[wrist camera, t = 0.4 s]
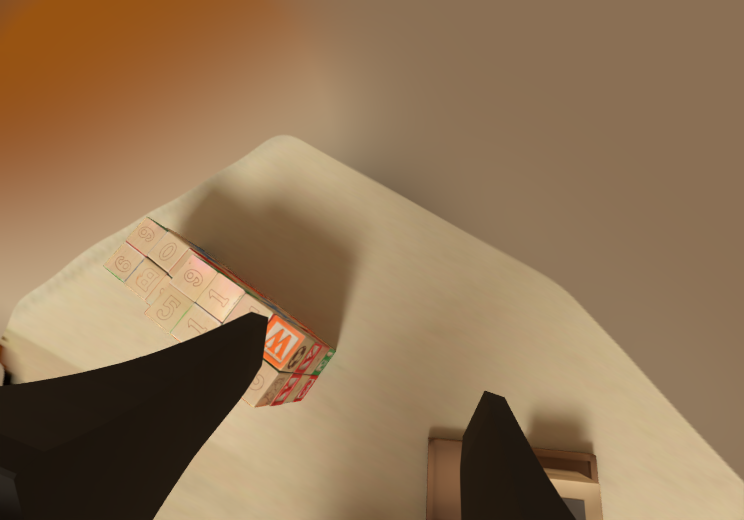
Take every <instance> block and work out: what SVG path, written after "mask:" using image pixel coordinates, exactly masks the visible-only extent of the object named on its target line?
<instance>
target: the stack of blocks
mask: <svg viewBox="0 0 744 520" xmlns="http://www.w3.org/2000/svg"><path fill="white" fill-rule="evenodd" d="M104 267H105V268H106V269H107V270H108V271H110V272H111V273H112V274H113V275H115V276H116V277H117V278H118V279H119V280H121V281H122V282H124V284H125V285H126V286H127V287H128V288H129V289H131V290H132V291H133V292H134V293H136V294H137V295H138V296H139V297H140V298H142V299H143V300H144V301H145V302H146V303H147V304H149V305H150V307H149V308H148V309H147V310H146V312H145V315H146V316H148V317H149V318H150V319H151V320H152V321H154V322H155V323H156V324H157V325H158V326H160V327H161V328H162V329H163V330H164V331H166V332H167V333H168V334H171V335H172V336H173V337H174V338H175V339H177V340H178V341H179V342H180V343H181V342H184V341H186V340H189V339H191V338H194V337H196V336H199V335H201V334H203V333H205V332H208V331H210V330H212V329H214V328H217V327H219V326H221V325H223V324H225V323H228V322H230V321H232V320H234V319H236V318H238V317H241V316H243V315H245V314H247V313H250V312H254V313H257V314H260V315H263V316H266V317H269V319H268V326H267V333H266V340H265V348H264V355H263V362H262V366H261V368H260V370H259V371H258V373H257V375H256V376H255V378H254V380H253V381H252V383H251V384H250V386H249V388H248V389H247V391H246V392H245V393H244V395H243V396H242V397H241V398H242V399H243V400H245V401H246V402H247V403H248V404H249V405H250V406H252V407H260V406H266V405H269V406H275V405H281V404H283V403H288V402H297V401H301V400H302V399H303V397H304V396H305V395H306V393H307V392H308V390H309V389H310V388H311V386H312V385H313V383H314V382H315V380H316V379H317V378H318V376H319V374H320V373H321V371H322V370H323V368H324V367H325V366H326V364H327V363H328V362H329V360H330V359H331V357H332V356H333V355H334V353H335V352H336V351H335V350H334V349H333V348H332V347H330V346H329V345H328V344H326V343H325V342H324V341H323V340H321V339H320V338H319V337H317V336H316V335H315V334H314V333H313V332H312V331H311V330H309V329H308V328H307V327H305V326H304V325H303V324H301V323H300V322H299V321H297V320H296V319H295V318H293V317H292V316H291V315H290V314H288V313H287V312H286V311H285V310H283V309H282V308H281V307H279V306H278V305H277V304H275V303H274V302H272V301H270V300H268V299H267V298H265V297H264V296H263V295H261V294H260V293H259V292H257V291H256V290H255V289H253V288H252V287H250V286H249V285H247V284H246V283H245V282H243V281H242V280H241V279H239V278H238V277H237V276H235V275H234V273H233V272H232V271H231V270H229V269H228V268H227V267H225V266H224V265H223V264H221V263H220V262H219V261H217V260H216V259H214V258H213V257H211V256H210V255H209V254H207V253H206V252H205V251H203V250H202V249H201V248H199V247H197V246H196V245H194V244H192V243H191V242H189V241H188V240H186V239H185V238H183V237H182V236H180V235H178V234H177V233H175V232H174V231H172V230H170V229H168V228H165V227H163V226H162V225H160V224H158V223H157V222H155V221H154V220H152V219H150V218H149V217H146V218H145V219H144V220H143V221H142V222H141V223H140V224H139V226H138V227H137V228H136V229H135V230H134V231H133V232H132V233H131V234H130V235H129V237H128V238H127V239H126V242H124V243H123V244H122V245H121V246H120V248H119V249H118V250H117V251H116V252H115V253H114V254H113V256H112V257H111V258H110V259H109V260H108V261H107V262H106V263H105V264H104Z"/></svg>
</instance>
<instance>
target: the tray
mask: <svg viewBox="0 0 744 520" xmlns="http://www.w3.org/2000/svg"><path fill="white" fill-rule="evenodd" d="M461 450H462V441H458V440H448V439H438V438H429V440H428V474H427V509H426V520H461V498H460V461H461ZM532 450H533V452H534V454H535V455H536V457H537V459H538V461H539V462H540V464H541V466H542V467H543V468H549V469H558V470H568V471H577V472H579V473H580V474H582V475H584V476H586V477H588V478H590V479H591V480H593V481H595V482H597V483H598V472H597V461H596V455H593V454H589V453H579V452H569V451H559V450H549V449H539V448H532Z"/></svg>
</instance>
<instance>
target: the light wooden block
mask: <svg viewBox="0 0 744 520" xmlns="http://www.w3.org/2000/svg"><path fill="white" fill-rule="evenodd" d="M543 469H544V471H545V472H546V474H547V476H548V477H549V479H550V481H551V482H552V484H553V485H554V487H555V488H556V490H557V492H558V493H559V495H560V496H561V498H562V499H563V501H564V502H565V504H566V505H567V507H568V508H569V510H570V511H571V513H572V514H573V515H574V517H575V518H576V519H577V520H603V513H602V503H601V492H600V484H599V483H597V482H595V481H593V480H591V479H590V478H588V477H586V476H584V475H582V474H580V473H579V472H577V471H568V470H558V469H549V468H543Z"/></svg>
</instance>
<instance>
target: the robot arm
mask: <svg viewBox="0 0 744 520" xmlns="http://www.w3.org/2000/svg"><path fill="white" fill-rule="evenodd" d="M268 319H269V317H266V316H263V315H260V314H257V313H254V312H250V313H247V314H245V315H243V316H241V317H238V318H236V319H234V320H232V321H230V322H228V323H225V324H223V325H221V326H219V327H217V328H214V329H212V330H210V331H208V332H205V333H203V334H201V335H199V336H196V337H194V338H191V339H189V340H186V341H184V342H181V343H179V344H176V345H174V346H171V347H168V348H166V349H163V350H160V351H158V352H155V353H152V354H149V355H146V356H143V357H139V358H136V359H133V360H129V361H126V362H123V363H119V364H115V365H111V366H107V367H103V368H99V369H95V370H91V371H86V372H82V373H78V374H73V375H68V376H63V377H58V378H52V379H46V380H41V381H35V382H28V383H22V384H14V385H6V386H0V520H153V518H154V517H155V515H156V514H157V512H158V511H159V509H160V507H161V506H162V504H163V503H164V501H165V500H166V498H167V496H168V495H169V493H170V492H171V490H172V489H173V487H174V486H175V484H176V483H177V481H178V480H179V478H180V477H181V475H182V474H183V472H184V471H185V469H186V468H187V466H188V465H189V463H190V462H191V460H192V459H193V458H194V456H195V455H196V454H197V452H198V451H199V450H200V448H201V447H202V446H203V445H204V443H205V442H206V441H207V440H208V438H209V437H210V436H211V435H212V433H213V432H214V431H215V430H216V428H217V427H218V426H219V425H220V424H221V422H222V421H223V420H224V419H225V417H226V416H227V415H228V414H229V412H230V411H231V410H232V409H233V407H234V406H235V405H236V404H237V402H238V401H239V400H240V399H241V397H242V396H243V395H244V393H245V392H246V391H247V389H248V388H249V386H250V384H251V383H252V381H253V380H254V378H255V376H256V375H257V373H258V371H259V370H260V368H261V366H262V362H263V355H264V348H265V340H266V333H267V326H268ZM460 498H461V520H577V519H576V518H575V517H574V515H573V514H572V513H571V511H570V510H569V508H568V507H567V505H566V504H565V502H564V501H563V499H562V498H561V496H560V495H559V493H558V492H557V490H556V488H555V487H554V485H553V484H552V482H551V481H550V479H549V477H548V476H547V474H546V472H545V471H544V469H543V467H542V466H541V464H540V462H539V461H538V459H537V457H536V455H535V454H534V452H533V450H532V448H531V447H530V445H529V443H528V441H527V439H526V437H525V436H524V434H523V432H522V430H521V428H520V426H519V424H518V422H517V420H516V418H515V416H514V415H513V413H512V411H511V409H510V407H509V405H508V403H507V401H506V399H505V397H502V396H499V395H496V394H493V393H490V392H487V391H484V393H483V395H482V397H481V400H480V402H479V404H478V406H477V408H476V410H475V412H474V414H473V416H472V418H471V421H470V423H469V425H468V427H467V429H466V431H465V433H464V435H463V440H462V450H461V461H460Z"/></svg>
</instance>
